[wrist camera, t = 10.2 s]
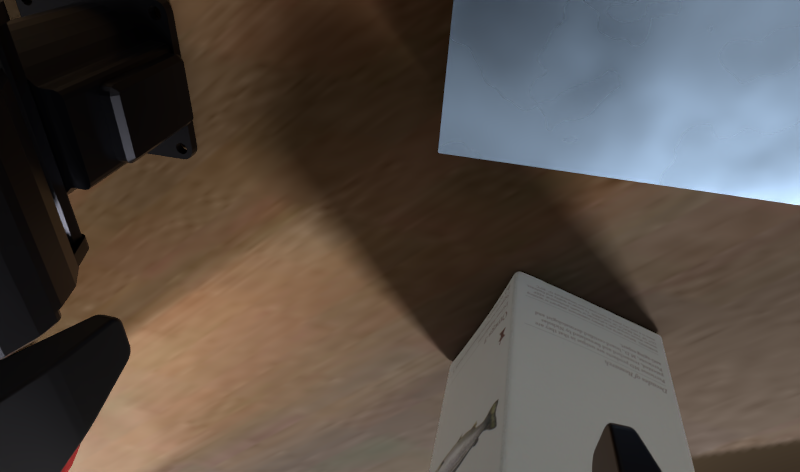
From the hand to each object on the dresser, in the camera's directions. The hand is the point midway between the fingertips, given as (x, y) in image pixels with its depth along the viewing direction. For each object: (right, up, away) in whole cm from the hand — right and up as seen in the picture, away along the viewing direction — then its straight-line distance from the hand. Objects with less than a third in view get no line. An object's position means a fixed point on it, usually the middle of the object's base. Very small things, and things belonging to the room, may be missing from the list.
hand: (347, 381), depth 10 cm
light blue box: (+11, +9, +7) cm, 16 cm away
